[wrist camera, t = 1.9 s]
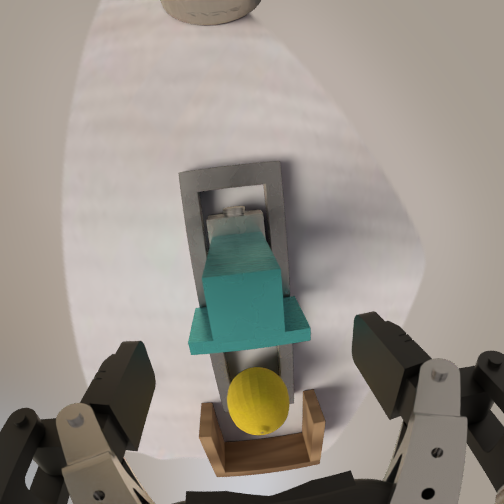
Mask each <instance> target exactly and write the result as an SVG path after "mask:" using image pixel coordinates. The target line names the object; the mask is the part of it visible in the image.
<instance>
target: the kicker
mask: <svg viewBox="0 0 504 504" xmlns="http://www.w3.org/2000/svg"><path fill="white" fill-rule="evenodd" d="M206 222H207V229H208V236H209V243H210V247H209V251H208V255H207V259H206V263H205V267H204V271H203V275H202V283H203V289H204V294H205V300H206V305H207V307H203V308H196V309H195V313H194V318H193V322H192V327H191V332H190V336H189V341H188V345H189V348H190V352H191V355H198V354H210V353H221V352H231V351H240V350H249V349H257V348H264V347H271V346H278V345H285V344H291V343H298V342H303V341H309V340H311V329H310V326H309V324H308V322H307V320H306V318H305V316H304V314H303V312H302V310H301V308H300V306H299V304H298V302H297V300H296V298H295V296H293V297H286V298H283V292H282V278H281V268H280V266H279V264H278V262H277V260H276V258H275V256H274V255H273V253H272V251H271V249H270V247H269V245H268V243H267V241H266V238H265V228H264V217H263V213H262V211H261V210H260V209H259V210H250V211H245V206H233V207H227V208H224V209H223V214H217V215H209V216H208V218H207V220H206Z"/></svg>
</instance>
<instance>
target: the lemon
mask: <svg viewBox="0 0 504 504" xmlns="http://www.w3.org/2000/svg"><path fill="white" fill-rule="evenodd" d="M227 405H228V409H229V413H230V416H231V418H232V420H233V421H234V423H235V424H236V426H237V427H238V428H240V429H241V430H242V431H244V432H246V433H249V434H252V435H266V434H269V433H272V432H274V431H275V430H277V429H278V428H279V427H281V426H282V425H283V423H284V422H285V420H286V418H287V416H288V411H289V395H288V390H287V387H286V385H285V383H284V382H283V380H282V379H281V378H280V376H278V375H277V374H276V373H275V372H273V371H271V370H269V369H267V368H262V367H253V368H248V369H246V370H243V371H242V372H240V373H239V374H238V375H237V376H236V377H235V378H234V379H233V380H232V382H231V384H230V386H229V389H228V395H227Z"/></svg>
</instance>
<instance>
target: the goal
mask: <svg viewBox="0 0 504 504" xmlns="http://www.w3.org/2000/svg"><path fill="white" fill-rule="evenodd" d="M324 429H325V419H324V416H323V413H322V411H321V408H320V405H319V402H318V400H317V397H316V394H315V392H314V389H312V390H307V391H303V421H302V433H296V434H291V435H285V436H278V437H271V438H264V439H256V440H246V441H235V442H224V439H223V436H222V433H221V430H220V427H219V423H218V420H217V417H216V414H215V410H214V407H213V403H202V404H201V417H200V430H199V439H200V441H201V443H202V446H203V448H204V450H205V452H206V455H207V457H208V459H209V461H210V463H211V466H212V468H213V470H214V472H215V474H216V476H217V477H230V476H244V475H254V474H264V473H271V472H279V471H284V470H291V469H297V468H302V467H307V466H312V465H317V464H319V463H320V458H321V451H322V444H323V437H324Z"/></svg>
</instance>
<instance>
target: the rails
mask: <svg viewBox="0 0 504 504" xmlns="http://www.w3.org/2000/svg"><path fill="white" fill-rule="evenodd" d="M179 181H180V189H181V197H182V204H183V211H184V218H185V225H186V232H187V238H188V244H189V250H190V256H191V262H192V268H193V274H194V279H195V285H196V290H197V295H198V300H199V306H200V308H203V307H207V305H206V300H205V294H204V289H203V283H202V275H203V271H204V267H205V263H206V259H207V255H208V250H207V243H206V236H205V229H204V222H203V215H202V207H201V200H200V192H201V191H208V190H216V189H224V188H232V187H241V186H250V185H260V184H263V185H264V195H265V205H266V216H267V227H268V238H269V247H270V249H271V251H272V253H273V255H274V256H275V258H276V260H277V262H278V264H279V266H280V268H281V278H282V292H283V298H286V297H290V283H289V267H288V252H287V238H286V225H285V212H284V200H283V189H282V178H281V167H280V161H273V162H262V163H251V164H241V165H232V166H224V167H216V168H208V169H201V170H194V171H187V172H180V173H179ZM277 349H278V363H279V376H280V378H281V379H282V380H283V382H284V383H285V385H286V387H287V390H288V395H289V404H292V403H294V379H293V347H292V343H291V344H285V345H278V346H277ZM210 357H211V361H212V366H213V370H214V374H215V378H216V382H217V386H218V390H219V394H220V398H221V402H222V406H223V409H224V412H229V409H228V405H227V395H228V389H229V386H230V384H231V380H230V375H229V370H228V365H227V360H226V355H225V352H221V353H210Z"/></svg>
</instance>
